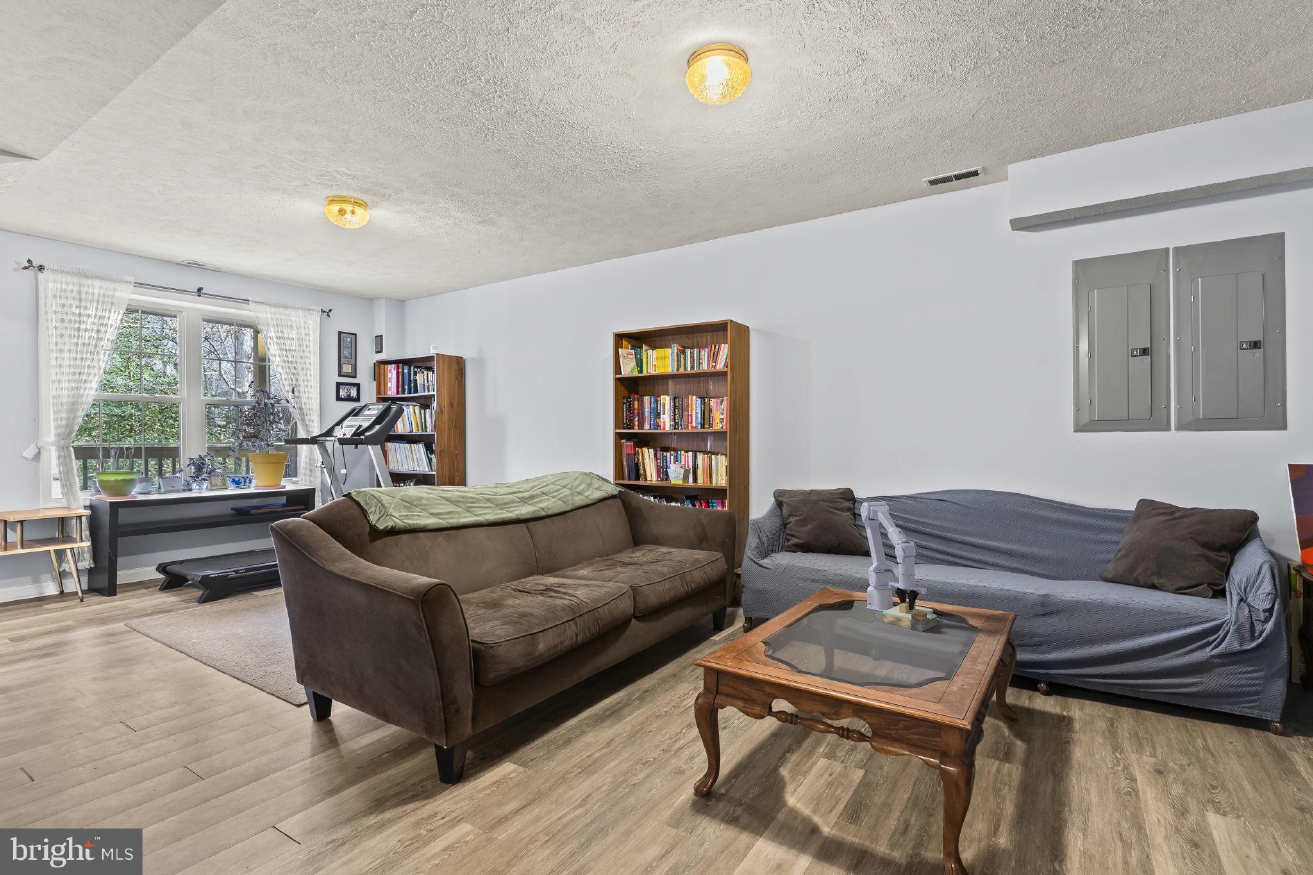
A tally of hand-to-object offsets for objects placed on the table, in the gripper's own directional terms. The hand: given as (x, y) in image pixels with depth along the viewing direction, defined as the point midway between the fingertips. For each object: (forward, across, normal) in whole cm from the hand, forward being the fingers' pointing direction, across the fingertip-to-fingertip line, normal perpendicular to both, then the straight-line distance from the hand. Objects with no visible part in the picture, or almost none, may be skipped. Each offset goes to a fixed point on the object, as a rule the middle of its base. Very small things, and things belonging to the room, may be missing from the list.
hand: (907, 608), depth 242 cm
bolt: (0, +8, -7) cm, 10 cm away
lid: (+3, +2, 0) cm, 3 cm away
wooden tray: (+4, +2, 0) cm, 5 cm away
